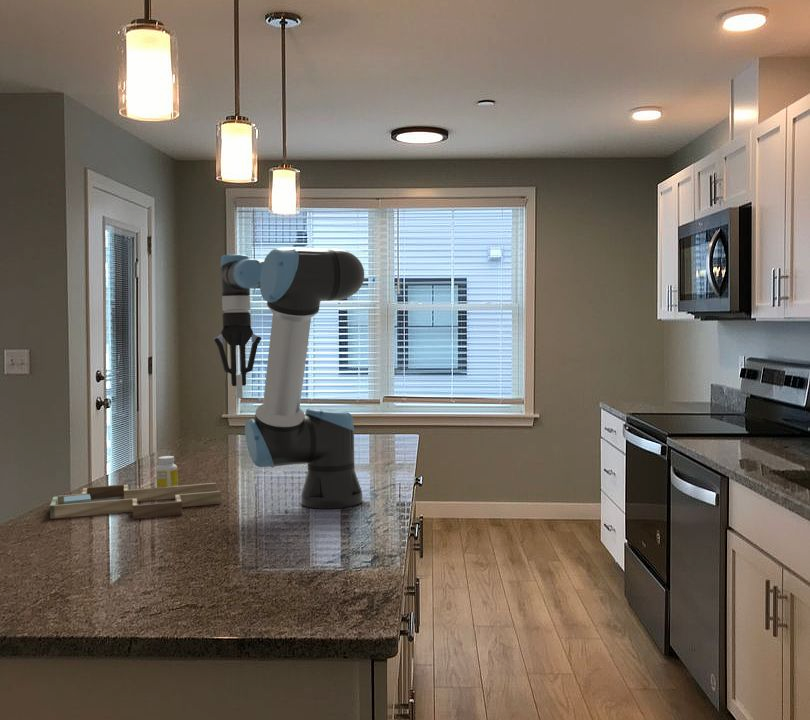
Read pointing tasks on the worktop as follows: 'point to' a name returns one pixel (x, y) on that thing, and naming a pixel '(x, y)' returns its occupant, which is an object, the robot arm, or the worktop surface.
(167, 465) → the supplement bottle
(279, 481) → the worktop surface
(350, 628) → the worktop surface
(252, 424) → the robot arm
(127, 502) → the wooden frame tray
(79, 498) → the block
